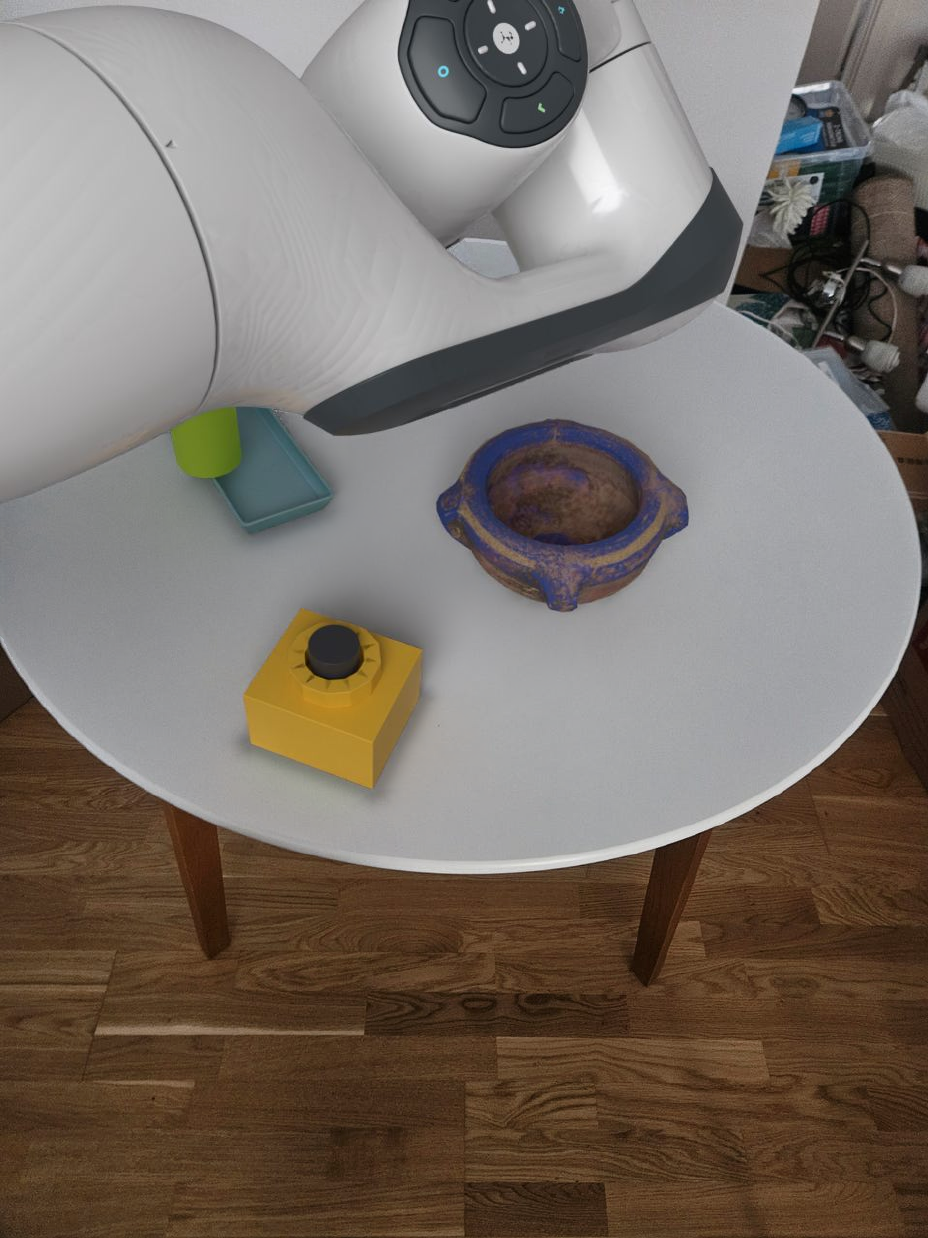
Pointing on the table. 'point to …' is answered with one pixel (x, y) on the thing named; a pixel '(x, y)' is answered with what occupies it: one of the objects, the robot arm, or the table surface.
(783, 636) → the table surface
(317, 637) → the black cylinder
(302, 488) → the rectangular tray
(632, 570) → the bowl
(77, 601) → the table surface
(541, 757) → the table surface
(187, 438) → the soap dispenser
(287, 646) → the yellow push button box
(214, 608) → the table surface
